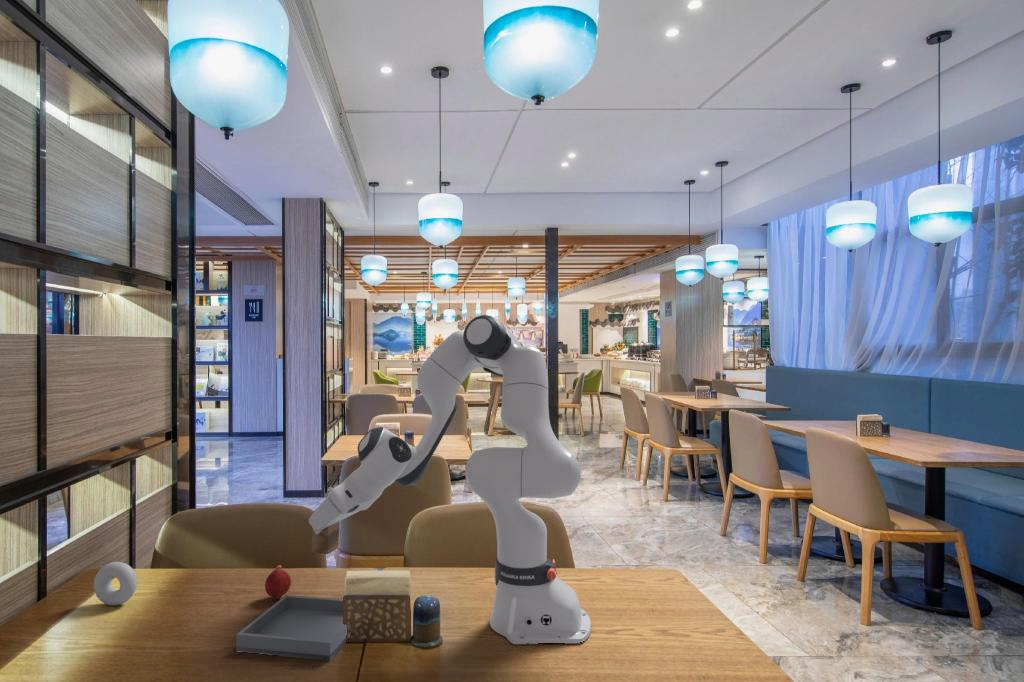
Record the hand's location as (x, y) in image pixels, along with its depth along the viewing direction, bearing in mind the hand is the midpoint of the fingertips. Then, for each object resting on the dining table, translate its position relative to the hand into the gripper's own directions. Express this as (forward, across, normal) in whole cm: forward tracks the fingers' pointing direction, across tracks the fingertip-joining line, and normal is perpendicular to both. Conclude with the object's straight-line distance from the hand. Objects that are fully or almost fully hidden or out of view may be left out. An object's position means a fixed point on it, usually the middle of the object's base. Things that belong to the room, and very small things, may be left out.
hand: (323, 528), depth 137 cm
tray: (+6, +17, +17) cm, 25 cm away
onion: (+18, +5, +6) cm, 19 cm away
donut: (+42, +19, -19) cm, 50 cm away
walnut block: (+3, 0, +4) cm, 5 cm away
